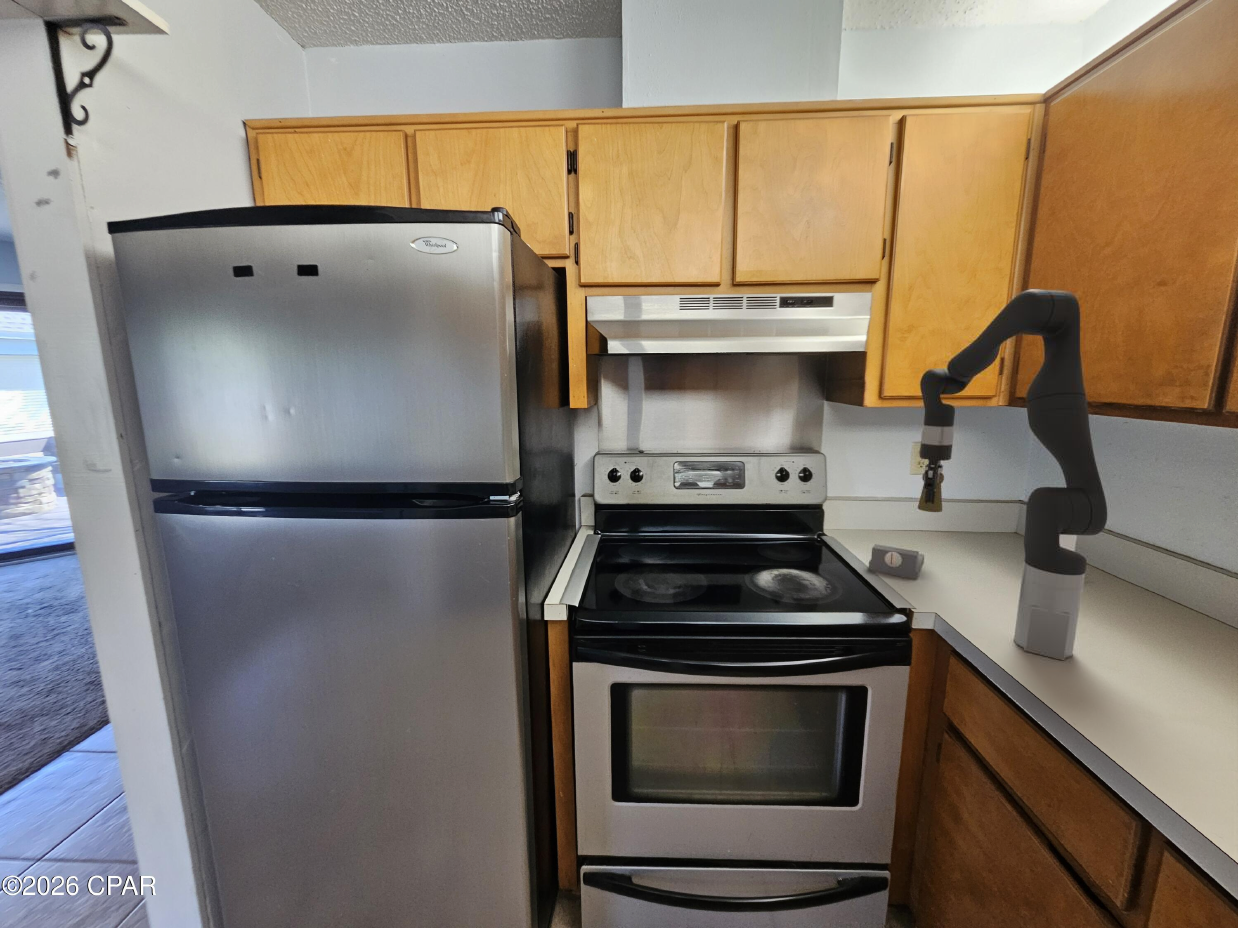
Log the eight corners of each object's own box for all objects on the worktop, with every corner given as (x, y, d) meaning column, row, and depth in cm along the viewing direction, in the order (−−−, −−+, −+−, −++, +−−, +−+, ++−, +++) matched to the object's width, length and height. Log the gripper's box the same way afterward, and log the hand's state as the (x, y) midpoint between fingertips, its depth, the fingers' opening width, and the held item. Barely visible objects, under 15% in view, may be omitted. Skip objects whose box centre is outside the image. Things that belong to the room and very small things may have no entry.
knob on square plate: (916, 580, 136) (918, 556, 134) (868, 570, 143) (869, 547, 141) (923, 562, 149) (925, 540, 147) (879, 554, 156) (880, 533, 154)
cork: (917, 510, 141) (921, 472, 139) (917, 505, 146) (920, 468, 144) (943, 513, 138) (947, 474, 136) (941, 508, 143) (945, 470, 141)
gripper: (949, 446, 131) (942, 509, 134) (955, 440, 142) (948, 498, 145) (916, 443, 135) (911, 505, 138) (924, 438, 146) (919, 495, 149)
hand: (930, 501), depth 142 cm, fingers closed on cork, 3 cm apart
